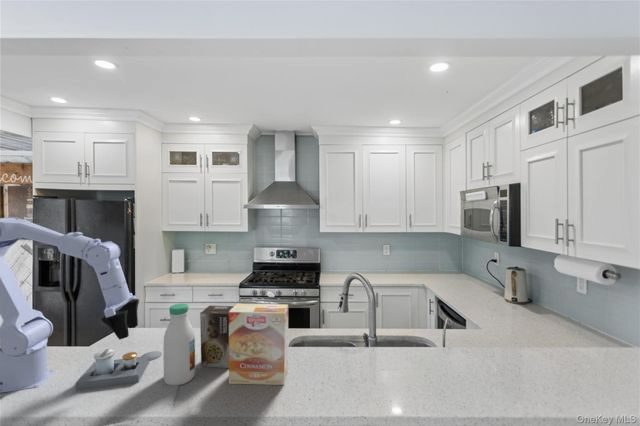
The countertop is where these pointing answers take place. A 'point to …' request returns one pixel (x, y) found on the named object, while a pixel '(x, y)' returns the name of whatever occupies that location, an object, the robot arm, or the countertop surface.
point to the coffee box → (215, 336)
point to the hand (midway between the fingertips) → (129, 332)
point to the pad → (153, 355)
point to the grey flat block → (113, 375)
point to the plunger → (129, 361)
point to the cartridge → (104, 362)
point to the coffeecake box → (258, 344)
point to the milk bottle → (179, 347)
